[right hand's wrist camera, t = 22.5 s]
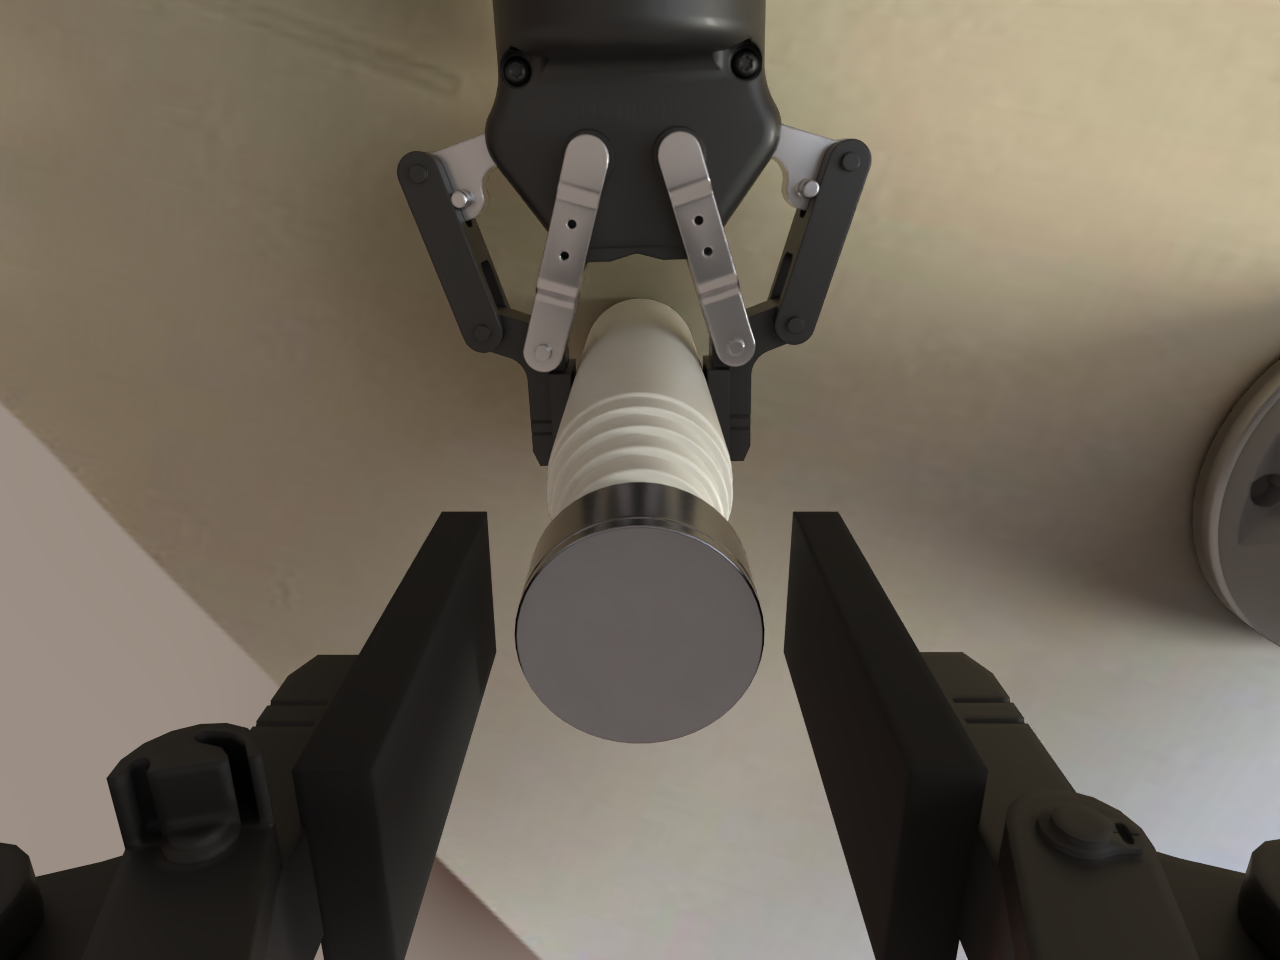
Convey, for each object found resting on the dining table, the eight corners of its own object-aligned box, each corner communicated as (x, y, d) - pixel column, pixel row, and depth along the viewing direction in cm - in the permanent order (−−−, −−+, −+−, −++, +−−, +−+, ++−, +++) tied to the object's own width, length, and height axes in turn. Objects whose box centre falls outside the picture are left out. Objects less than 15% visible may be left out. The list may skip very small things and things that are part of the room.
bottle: (675, 283, 32) (729, 456, 13) (707, 386, 34) (801, 687, 14) (570, 318, 33) (466, 538, 13) (606, 419, 34) (560, 753, 14)
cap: (759, 485, 14) (777, 531, 12) (739, 681, 15) (752, 749, 14) (530, 475, 14) (513, 519, 12) (529, 672, 15) (514, 738, 13)
